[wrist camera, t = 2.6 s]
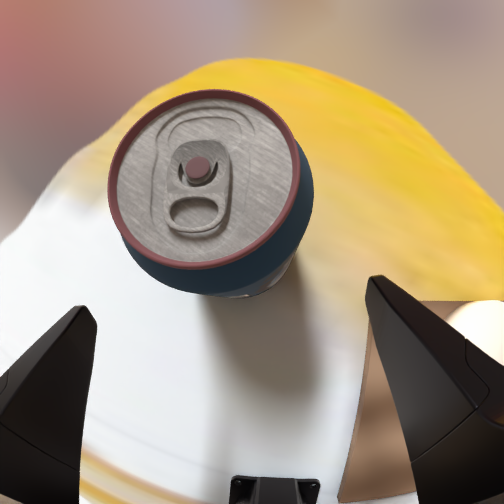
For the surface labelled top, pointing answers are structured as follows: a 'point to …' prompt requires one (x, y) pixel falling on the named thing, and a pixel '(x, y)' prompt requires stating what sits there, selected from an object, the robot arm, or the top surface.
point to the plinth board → (385, 414)
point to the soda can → (211, 193)
